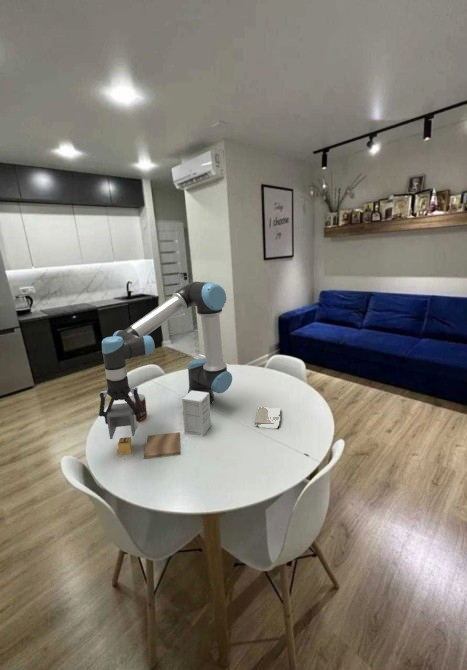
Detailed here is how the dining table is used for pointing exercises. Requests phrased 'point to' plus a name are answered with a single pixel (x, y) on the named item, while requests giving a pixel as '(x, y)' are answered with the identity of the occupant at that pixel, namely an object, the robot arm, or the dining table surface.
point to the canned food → (143, 401)
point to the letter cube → (125, 445)
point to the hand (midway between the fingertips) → (123, 428)
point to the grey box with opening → (120, 418)
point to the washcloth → (263, 417)
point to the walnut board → (162, 445)
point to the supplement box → (196, 412)
